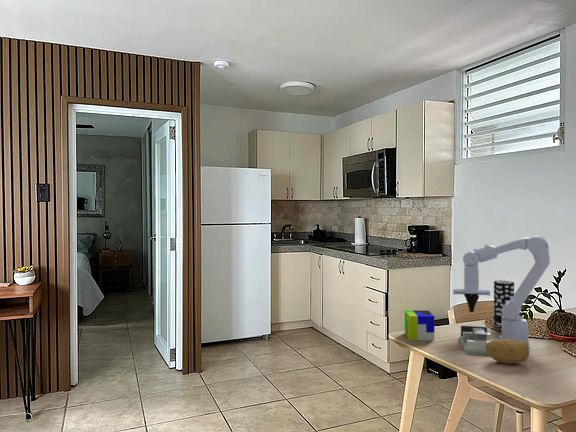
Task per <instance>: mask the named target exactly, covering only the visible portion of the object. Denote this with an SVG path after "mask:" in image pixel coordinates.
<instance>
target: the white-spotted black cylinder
mask: <svg viewBox="0 0 576 432" xmlns="http://www.w3.org/2000/svg"><path fill="white" fill-rule="evenodd" d="M514 294H515V282H514V281H510V280H494V281H493V326H494V325H496V326H500V327H502V316H503V314H502V308H503V306H504V305H505V303H506V302H507V301H509V300H511V299H512V297H513V296H514ZM496 326H495V327H496Z"/></svg>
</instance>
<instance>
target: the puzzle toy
mask: <svg viewBox="0 0 576 432" xmlns="http://www.w3.org/2000/svg"><path fill="white" fill-rule="evenodd" d="M404 334H405V335H406V337H407V339H408V340H409V341H435V315H434V314H432V312H430V310H418V309H417V310H414V309H413V310H412V309H411V310H410V309H409V310H408V309H407V310H404Z"/></svg>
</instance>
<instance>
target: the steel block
mask: <svg viewBox="0 0 576 432" xmlns="http://www.w3.org/2000/svg"><path fill="white" fill-rule="evenodd" d="M472 340H479V341H487V334H486V332H485V331H484V330H483V329H482V328H472Z"/></svg>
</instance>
